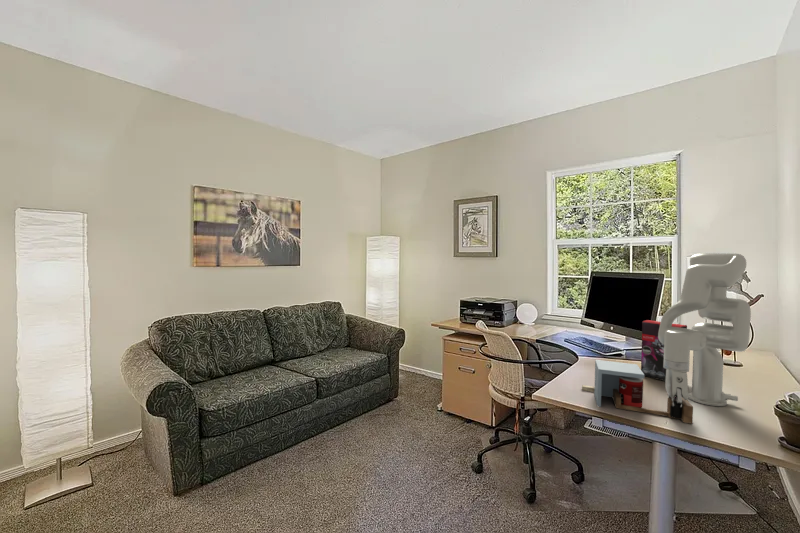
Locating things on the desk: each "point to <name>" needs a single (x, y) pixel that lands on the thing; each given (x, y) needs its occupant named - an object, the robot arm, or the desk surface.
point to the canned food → (631, 391)
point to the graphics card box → (653, 350)
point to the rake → (686, 410)
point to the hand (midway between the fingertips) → (674, 414)
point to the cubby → (612, 377)
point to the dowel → (587, 388)
